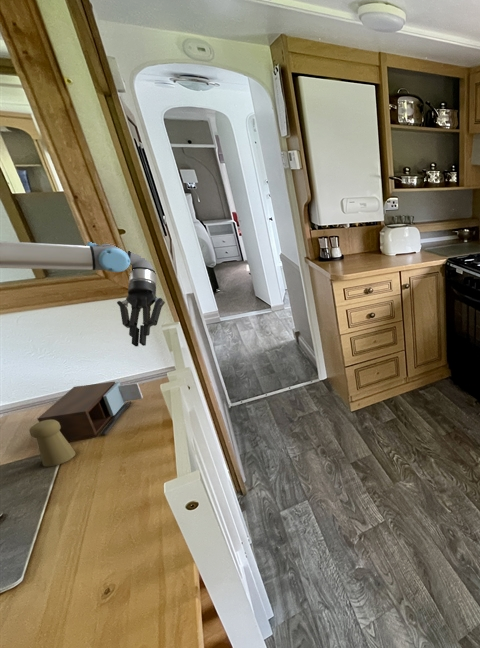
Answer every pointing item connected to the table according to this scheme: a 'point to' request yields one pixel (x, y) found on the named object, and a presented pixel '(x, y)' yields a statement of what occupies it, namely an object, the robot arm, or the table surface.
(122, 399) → the sliding door
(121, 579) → the table surface
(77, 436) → the cabinet
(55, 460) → the cork
